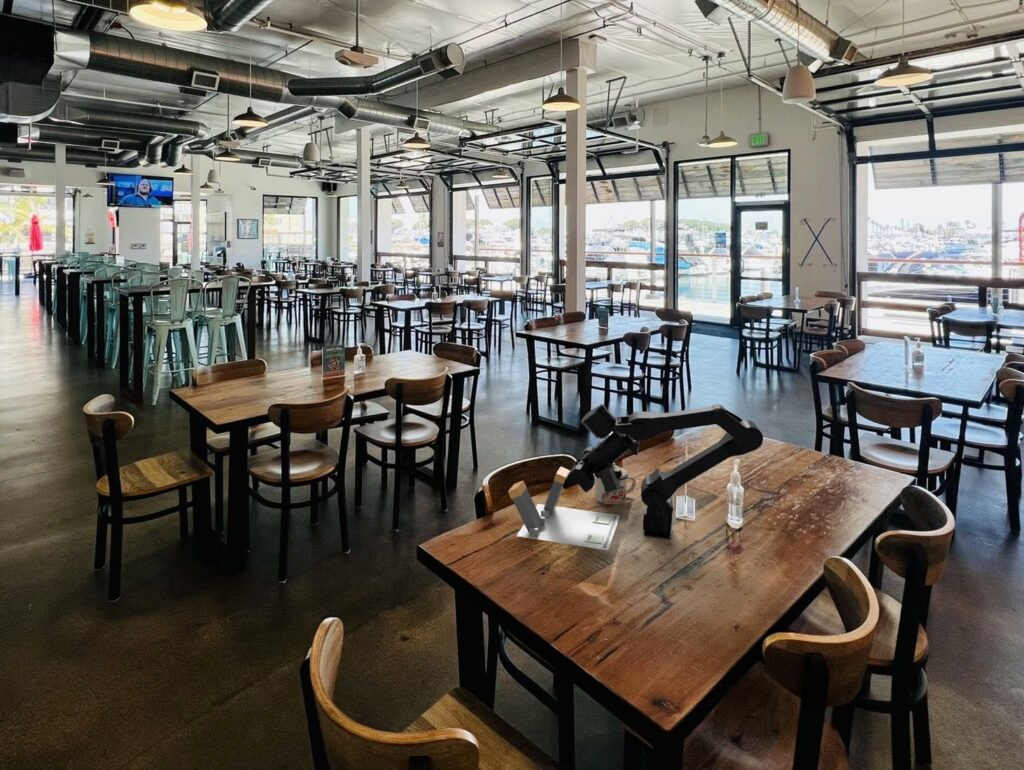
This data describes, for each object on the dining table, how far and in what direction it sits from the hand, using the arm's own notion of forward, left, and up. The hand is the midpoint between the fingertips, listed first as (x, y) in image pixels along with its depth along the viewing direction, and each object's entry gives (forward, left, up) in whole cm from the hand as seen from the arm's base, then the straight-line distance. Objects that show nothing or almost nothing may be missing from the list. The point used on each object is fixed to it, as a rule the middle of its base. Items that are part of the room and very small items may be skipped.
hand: (563, 487), depth 164 cm
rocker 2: (+4, 0, -8) cm, 9 cm away
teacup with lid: (-11, -16, -9) cm, 22 cm away
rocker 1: (+4, +11, -8) cm, 14 cm away
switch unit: (-3, +5, -9) cm, 11 cm away
